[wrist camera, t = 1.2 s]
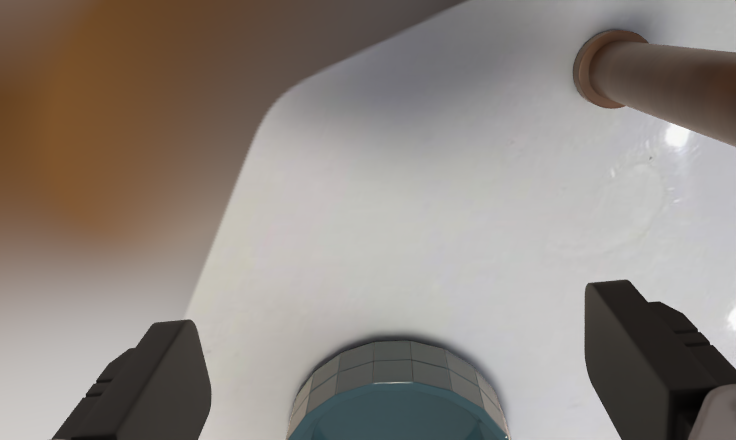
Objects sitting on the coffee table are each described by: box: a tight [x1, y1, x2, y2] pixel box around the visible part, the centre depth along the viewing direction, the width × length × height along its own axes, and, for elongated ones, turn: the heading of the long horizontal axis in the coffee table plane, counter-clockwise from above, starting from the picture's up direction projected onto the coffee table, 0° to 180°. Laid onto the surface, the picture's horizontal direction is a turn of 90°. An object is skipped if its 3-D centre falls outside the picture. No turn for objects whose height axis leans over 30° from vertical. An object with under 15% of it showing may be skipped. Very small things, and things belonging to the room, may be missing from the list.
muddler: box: [573, 30, 736, 147], centre depth 24 cm, size 4×4×17 cm
